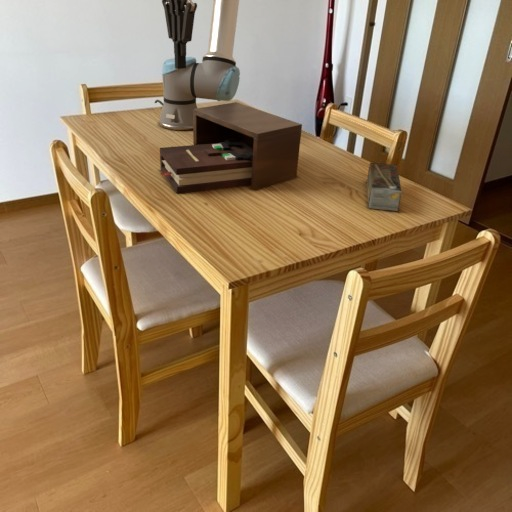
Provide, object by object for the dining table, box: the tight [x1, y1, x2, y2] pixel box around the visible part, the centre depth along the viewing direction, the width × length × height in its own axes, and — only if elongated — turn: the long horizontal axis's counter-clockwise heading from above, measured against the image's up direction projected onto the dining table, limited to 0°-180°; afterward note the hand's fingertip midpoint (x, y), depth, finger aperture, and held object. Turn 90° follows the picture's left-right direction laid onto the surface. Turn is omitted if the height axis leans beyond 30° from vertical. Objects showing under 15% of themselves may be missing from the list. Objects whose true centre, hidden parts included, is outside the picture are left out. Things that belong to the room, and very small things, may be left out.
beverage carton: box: [366, 162, 402, 212], centre depth 131 cm, size 8×19×7 cm, turn 170°
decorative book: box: [159, 138, 253, 194], centre depth 135 cm, size 19×8×30 cm
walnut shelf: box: [192, 101, 303, 191], centre depth 140 cm, size 28×16×16 cm, turn 42°
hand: (180, 67), depth 135 cm, fingers closed
